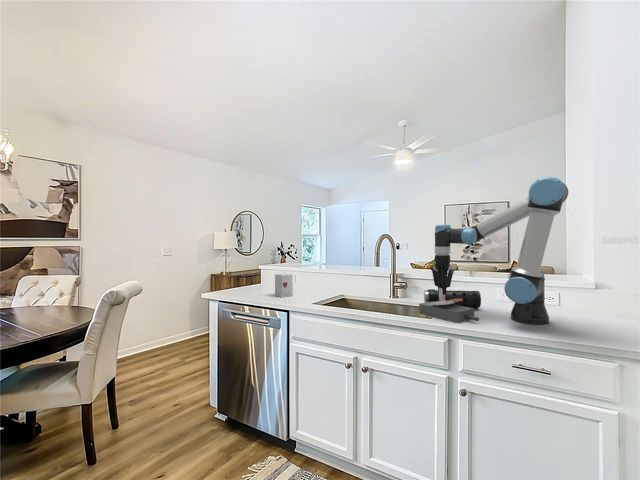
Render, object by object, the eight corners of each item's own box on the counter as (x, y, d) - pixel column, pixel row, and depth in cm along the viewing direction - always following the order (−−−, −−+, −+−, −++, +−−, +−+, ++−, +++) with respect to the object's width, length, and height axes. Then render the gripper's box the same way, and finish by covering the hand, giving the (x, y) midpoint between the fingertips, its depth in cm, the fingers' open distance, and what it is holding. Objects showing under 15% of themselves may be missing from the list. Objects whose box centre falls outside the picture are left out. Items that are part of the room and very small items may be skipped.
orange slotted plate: (462, 300, 160) (462, 297, 160) (455, 302, 157) (454, 299, 157) (445, 302, 168) (445, 300, 169) (438, 304, 165) (437, 301, 165)
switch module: (486, 321, 150) (486, 309, 150) (469, 326, 143) (469, 313, 143) (435, 310, 174) (435, 299, 174) (419, 313, 167) (419, 302, 167)
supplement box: (281, 297, 214) (281, 275, 214) (274, 295, 221) (274, 274, 221) (293, 296, 220) (292, 274, 220) (285, 294, 227) (285, 272, 227)
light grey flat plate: (454, 303, 156) (453, 300, 157) (446, 304, 153) (445, 301, 153) (437, 303, 165) (436, 301, 165) (429, 305, 161) (428, 302, 162)
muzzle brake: (481, 311, 170) (481, 292, 170) (425, 309, 176) (425, 290, 176) (476, 307, 179) (476, 289, 179) (423, 306, 185) (423, 288, 185)
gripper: (458, 255, 162) (457, 301, 163) (436, 253, 174) (436, 297, 174) (449, 255, 158) (448, 303, 159) (427, 254, 170) (426, 298, 170)
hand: (442, 300), depth 167 cm, fingers closed
